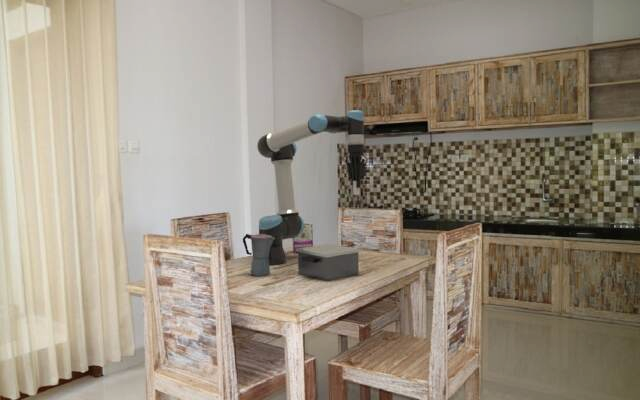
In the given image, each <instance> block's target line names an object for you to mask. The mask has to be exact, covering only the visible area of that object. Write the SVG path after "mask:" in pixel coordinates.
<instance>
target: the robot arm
mask: <svg viewBox="0 0 640 400" xmlns="http://www.w3.org/2000/svg"><path fill="white" fill-rule="evenodd" d="M364 124H365V119H364V112H363V111H362V110H358V109H356V110H353V109H352V110H347V113H346V115H344V116H343V115H342V116H335V115H334V116H333V115H328V114H321V113H320V114H319V113H318V114H312V115H311V116H310V118H309V119H307V120H305V121H302V122H299V123H298V124H295V125H292V126H290V127H287V128H285V129H283V130H281V131H278V132H275V133H274V132H270V133H267V134H264V135H263V136H261V137H260V138H259V139H258V141H257V151H258V153H259V154H260V155H261V156H263V157H264V158H266V159H270V163H271V164H272V165H273V166H274V173H275V174H274V175H275V184H276V194H277V203H278V204H277V205H278V212H277V213H276V214H274V215H273V214H272V215H266V216H263V217H261V218H260V219H259V220H258V234H260V230H262V231H263V233H262V234H265V235H270V236H272V237H274V238H275V239H274V240H273V242H272V244H271V246H270V251H269V257H268V259H269V266H277V265H282V264H285V263H287V256H286V252H285V250H284V247H283V240H287V239H288V240H290V239H292V238H295V237H298V236H299V235H301V233H302V232H303V230H304V223H305V221H304V219H303V218H302V216H300V213H299V211H298V210H297V209H296V203H295V202H296V201H295V193H294V183H293V174H292V163H293V161H294V157H295V155H296V153H297V144H296V143H297V142H299V141H302V140H305V139H307V138H310V137H312V136H315V135H318V134H321V133H329V134H338V133H339V134H340V133H347V144H348V145H347V152H348V153H349V155H348V158H347V159H344V161H345V162H344V163H345V164H346V168H347V174H348V175H347V176H348V180H351V181H352V188H353V189H352V190H353V196H360V195H361V190H360V189H361V181H363V180H364V179H365V173H366V166H367V163H368V161H369V160H368V158H365V156H364V152H365V145H364V143H365V137H364V135H365V133H364V128H365V127H364Z"/></svg>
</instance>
